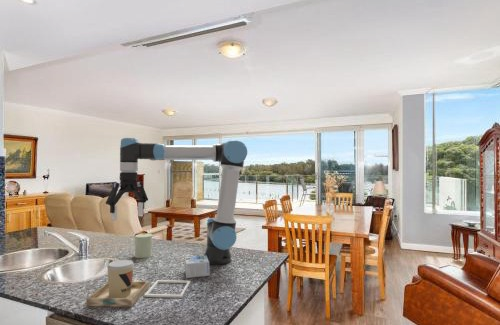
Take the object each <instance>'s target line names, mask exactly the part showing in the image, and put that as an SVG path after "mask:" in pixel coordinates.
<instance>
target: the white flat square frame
mask: <svg viewBox="0 0 500 325" xmlns="http://www.w3.org/2000/svg"><path fill="white" fill-rule="evenodd" d="M161 283H162V284H186V285H185V286H184V288H183V289H182V291H181V293H180V294H169V293H168V294H166V293H165V294H164V293H163V294H162V293H161V294H160V293H151V292H152V291H153V290H154V289H155V287H156V286H157V285H158V284H161ZM190 284H191V280H180V279H179V280H171V279H170V280H169V279H168V280H167V279H157V280H156V281H155V282H154V283H153V284H152V286H151V287H150V288H148V289H147V290H146V291H145V292H144V294H143V296H144V298H176V299H178V298H179V299H180V298H183V297H184V295H185V293H186V292H187V289H188V288H189V286H190Z"/></svg>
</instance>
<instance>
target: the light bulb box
mask: <svg viewBox="0 0 500 325" xmlns="http://www.w3.org/2000/svg"><path fill="white" fill-rule="evenodd" d="M184 272H185V278H186V279H188V278H189V279H192V278H199V277H200V278H201V277H209V276H210V274H211V273H210V264H209V261H208V258H207V256H204V255H197V256H185V257H184Z"/></svg>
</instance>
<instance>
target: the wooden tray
mask: <svg viewBox="0 0 500 325" xmlns="http://www.w3.org/2000/svg"><path fill="white" fill-rule="evenodd" d="M149 285H150V281H147V280H145V281H144V280H143V281H142V280H132V287H131V293H130V295H128V296H126V297H124V298H110V297H109V284H108V282H106V283H105V284H103V285H102V286H101V287H99V288H98V289H97V290H96V291H94V292H93V293H91V294H90V295H89V296H88V297H87V298H86V299H85V300H86V307H124V308H125V307H126V308H127V307H131V308H132V307H133V306H134V305H135V303H136V302H137V301H138V300H139V299H140V298H141V297H142V296H144V294H145V293H146V292H147V291H148V290H149V289H150V288H149V287H150V286H149Z"/></svg>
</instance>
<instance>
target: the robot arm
mask: <svg viewBox="0 0 500 325" xmlns="http://www.w3.org/2000/svg"><path fill="white" fill-rule="evenodd" d="M119 146H120V148H119V150H120V151H119V171H120V172H119V182H113V183H112V189H111V190H110V193H109V194H108V197H107V199H106V200H105V204H106V205H108V206H109V212H110V213H109V214H111V221H113V222H114V221H116V222H117V220H118V219H117V218H118V205H116V204H117V203H118V202H119V200H120V199H121V198H122V196H124V194H125V193H133V194H134V196H135V197H136V199H137V200H138V202H137V206H138V207H137V216H138V217H144V209H145V203H147V201H149V197H148V196H147V193H146V191H145V187H144V183H143V182H142V181H138V169H139V168H138V167H139V166H138V160H150V161H196V160H197V161H200V160H201V161H207V160H208V161H213V162H214V163H215V162H216V163H217V162H219V164H220V165H219V166H220V167H221V168H222V173H221V180H220V187H219V188H220V189H219V195H218V202H217V211H216V216H215V217H209V218H208V219H207V221H206V228H207V229H206V248H205V251H204V255H203V256H207V258H208V261H209V265H215V266H216V265H225V264H228V263H231V261H232V254H231V250H230V248H232V247H233V246H234V245H235V243H236V241H237V232H236V226H237V221H236V220H235V212H236V211H235V210H236V209H235V208H236V203H237V202H236V200H237V193H238V186H239V179H240V171H241V170H242V169H244V163H245V160H246V158H247V156H248V147H247V146H246V143H244V141H242V140H239V139H230V140H228V141H226V142H223V143H222V142H221V143H213V144H212V145H165V144H164V143H157V142H156V143H154V142H153V143H152V142H151V143H150V142H149V143H146V142H139V139H138V138H136V137H135V138H134V137H124V138H121V139H120V145H119Z"/></svg>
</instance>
